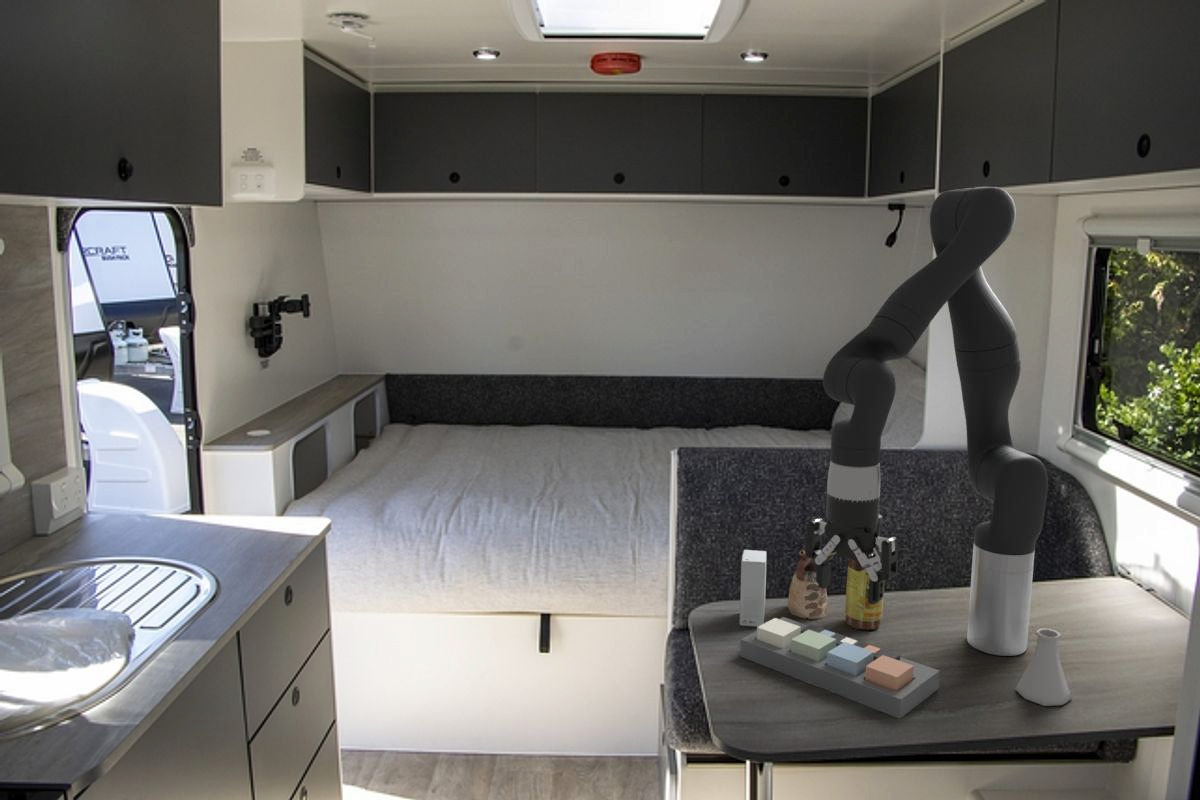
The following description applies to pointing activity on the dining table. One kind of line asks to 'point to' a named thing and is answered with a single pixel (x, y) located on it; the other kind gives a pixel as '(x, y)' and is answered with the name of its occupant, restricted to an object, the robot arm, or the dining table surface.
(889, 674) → the block
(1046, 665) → the flask
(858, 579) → the sauce bottle
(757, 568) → the skincare box
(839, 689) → the keypad board
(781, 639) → the key cream
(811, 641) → the key sage
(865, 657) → the key blue
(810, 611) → the figurine
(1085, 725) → the dining table surface
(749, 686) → the dining table surface
